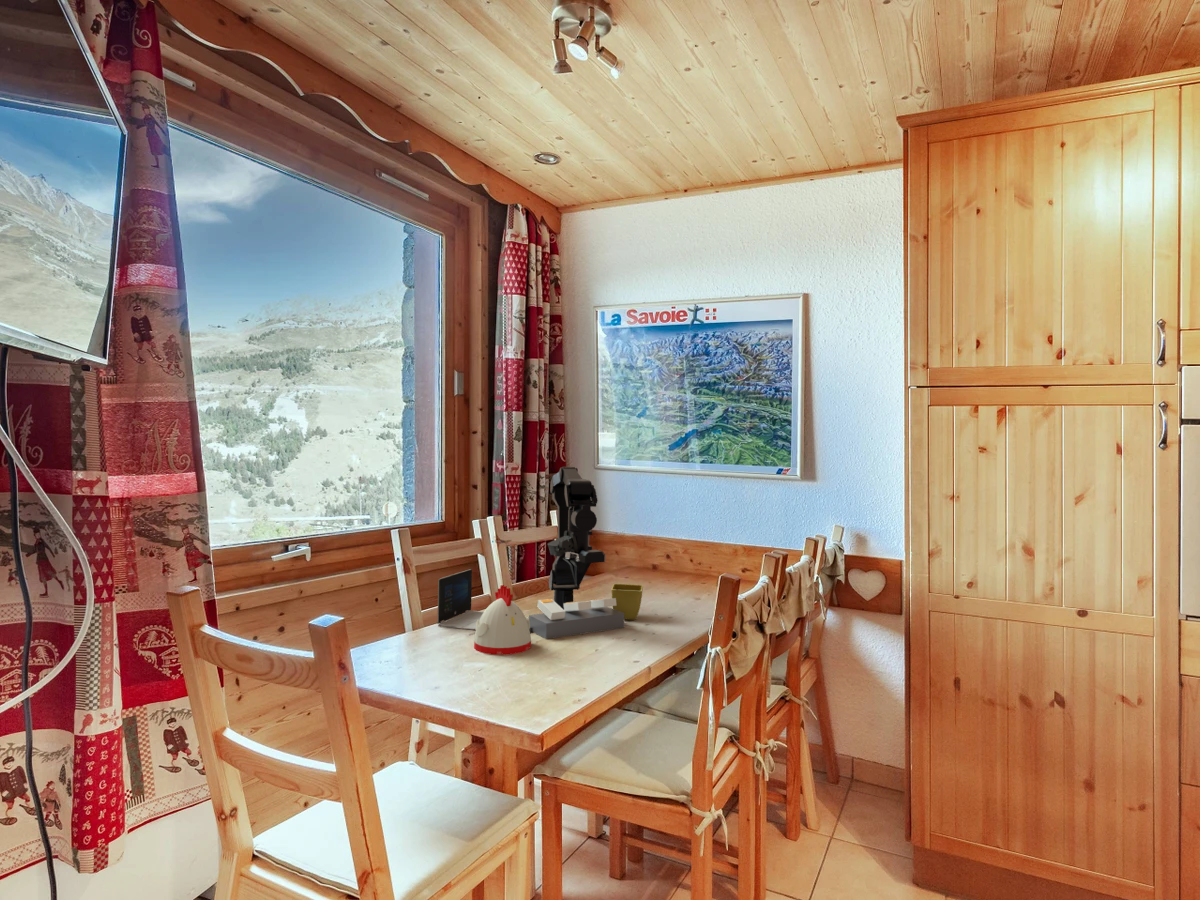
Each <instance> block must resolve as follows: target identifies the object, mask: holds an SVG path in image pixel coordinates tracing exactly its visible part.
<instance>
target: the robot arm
mask: <svg viewBox="0 0 1200 900" xmlns="http://www.w3.org/2000/svg"><path fill="white" fill-rule="evenodd" d="M549 485H550V488H549V489H550V491H549V492H550V494H551V495H552V497H551V498H552V501H553V502H554V504H555V506H556V507H557V539H553V540H552V541H549V542H548V543H547V547H548V549H549V553H550V556H555V557H556V558H555V559H554V561H553V563H552V569H551V570H550V575H549V579H548V587H549V589H550V591H553V601H555V602H556V603H557V604H558V605H559V606H560V607H561V608H562V609H563V610H564V603H568V602H574V590H580V588H581V587H580V586H581V584H582V581H583V580H584V578H585V575H586V574H587V571H588V570H589V568H590V567H591V564H596V563H598V564H599V563H605V562H606V553H604V551H602V550H598V549H593V546H592V545H590V536H593V529H594V528H595V527H596V525H597V521H598V520H597V519H598V518H597V515H596V514H595V512H594V511H593V510H592V509H591V508H592V507H594V508H596V507H597V504H598V495H597V491H596V490H597V489H596V488H595V485H593V483H592V481H591V480H589V479H584V478H582V477H581V475H580V473H579V471H578V468H577V467H575V466H562V467H560V468H559V471H558V472H557V473H555V474H553V475H552V477H551V479H550V484H549Z"/></svg>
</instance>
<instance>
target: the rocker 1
mask: <svg viewBox="0 0 1200 900" xmlns="http://www.w3.org/2000/svg"><path fill="white" fill-rule="evenodd" d="M536 606H537V608H538V609H539V610H540V611H541V612H542V614H543V613H544V614H545V615H546V616H547V617H548V618H549V619H550V620H556V619H563V618H565V611H564V610H563V609H562V608H561V607H560V606H559V605H558V604H557V603H556V602H555V601H554V599H553V598H546V599H545V598H544V599H538V600H537V605H536Z"/></svg>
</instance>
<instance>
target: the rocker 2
mask: <svg viewBox="0 0 1200 900" xmlns="http://www.w3.org/2000/svg"><path fill="white" fill-rule="evenodd" d="M584 609H592V608H591V601H589V600H587V601H586V600H585V601H573V602H568V603H564V611H573V610H584Z"/></svg>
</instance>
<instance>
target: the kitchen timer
mask: <svg viewBox="0 0 1200 900" xmlns="http://www.w3.org/2000/svg"><path fill="white" fill-rule="evenodd" d="M499 587H500V588H497V591H494V596H495V600H494V601H493V602H491V603H490V604H489V605H488V606H487V607H486V609H485V610H484V611H483V612H484V613H483V614H482V616H481V618H480V620H477V622H476V630H475V634H474V640H473V643H474V644H473V645H474V646H473V648H474V650H475V651H477V652H479V653H482V654H487V655H497V656H498V655H499V656H500V655H501V656H502V655H503V656H504V655H514V654H515V655H516V654H520V653H523V652H526V651H529V649H530V648H532V637H531V635H532V634H531V632H530V631H529V629H530V620H529V616H525V614H524V612H523V611H522V609H521V608H520V606H519V605H518V604H517V603H516V602H514V601H513V596H514V594H513V593H512V594H511V588H508V587H507V586H506V585H505V584H502V585H500V586H499Z"/></svg>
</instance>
